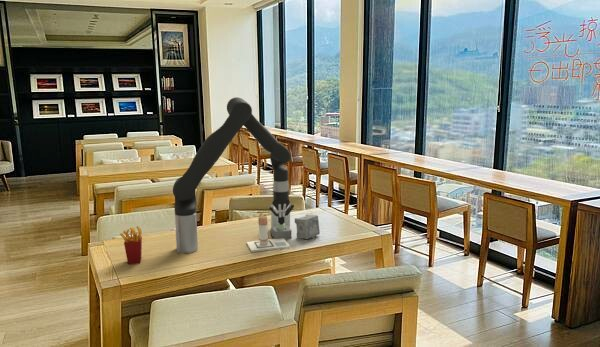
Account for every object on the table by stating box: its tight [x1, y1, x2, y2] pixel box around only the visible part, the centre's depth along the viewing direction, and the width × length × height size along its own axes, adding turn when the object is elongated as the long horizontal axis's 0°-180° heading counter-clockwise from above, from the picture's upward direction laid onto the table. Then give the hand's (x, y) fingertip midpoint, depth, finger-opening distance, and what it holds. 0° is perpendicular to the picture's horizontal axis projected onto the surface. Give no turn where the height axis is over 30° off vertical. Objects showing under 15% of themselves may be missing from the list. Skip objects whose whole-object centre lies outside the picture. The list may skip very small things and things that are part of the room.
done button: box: [278, 223, 285, 230], centre depth 228 cm, size 3×3×6 cm
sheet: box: [246, 238, 291, 253], centre depth 217 cm, size 18×11×1 cm, turn 107°
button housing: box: [270, 225, 292, 240], centre depth 229 cm, size 8×8×4 cm
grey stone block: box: [294, 214, 321, 240], centre depth 228 cm, size 10×8×10 cm
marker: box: [257, 215, 269, 246], centre depth 215 cm, size 4×4×13 cm
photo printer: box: [270, 207, 291, 228], centre depth 240 cm, size 10×4×12 cm, turn 123°
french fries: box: [119, 225, 143, 265], centre depth 198 cm, size 9×8×15 cm
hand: (281, 223), depth 228 cm, fingers closed
